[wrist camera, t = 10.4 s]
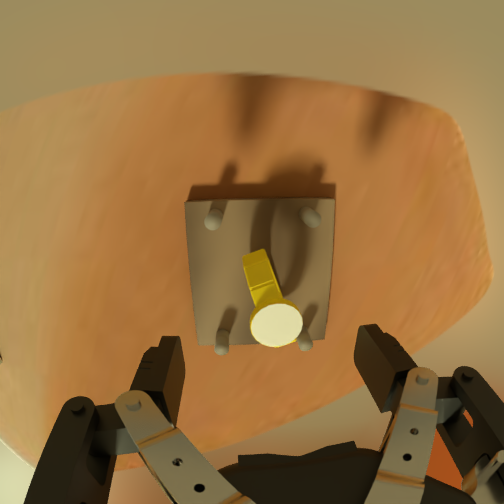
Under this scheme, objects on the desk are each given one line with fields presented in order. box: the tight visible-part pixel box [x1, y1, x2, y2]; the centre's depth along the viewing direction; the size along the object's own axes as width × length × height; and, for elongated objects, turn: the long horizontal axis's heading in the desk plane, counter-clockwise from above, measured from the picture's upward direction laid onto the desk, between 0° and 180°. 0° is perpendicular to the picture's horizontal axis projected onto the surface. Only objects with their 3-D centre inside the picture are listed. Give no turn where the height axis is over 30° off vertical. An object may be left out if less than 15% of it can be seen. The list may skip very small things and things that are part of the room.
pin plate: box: [184, 197, 335, 355], centre depth 20 cm, size 10×11×3 cm
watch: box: [242, 249, 303, 348], centre depth 18 cm, size 6×3×6 cm, turn 20°
